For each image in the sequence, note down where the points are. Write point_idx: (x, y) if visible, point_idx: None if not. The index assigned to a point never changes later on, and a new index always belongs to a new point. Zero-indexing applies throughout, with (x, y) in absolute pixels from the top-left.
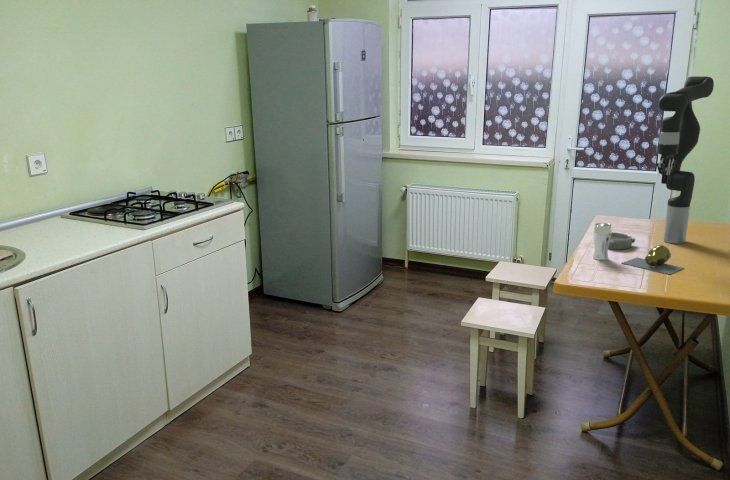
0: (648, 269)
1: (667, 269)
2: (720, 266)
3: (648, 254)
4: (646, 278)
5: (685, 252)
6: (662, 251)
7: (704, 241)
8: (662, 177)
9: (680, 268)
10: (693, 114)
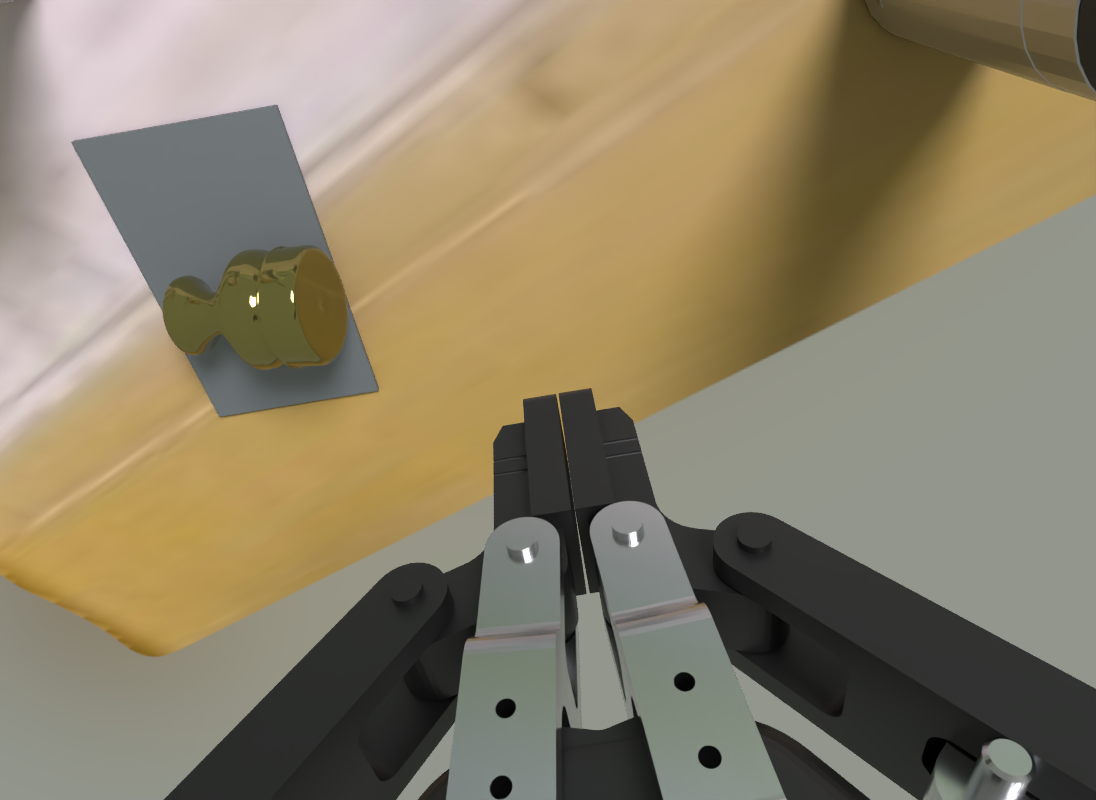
0: None
1: None
2: None
3: (229, 263)
4: (55, 396)
5: (686, 199)
6: (253, 366)
7: None
8: (498, 508)
9: (349, 387)
10: None
